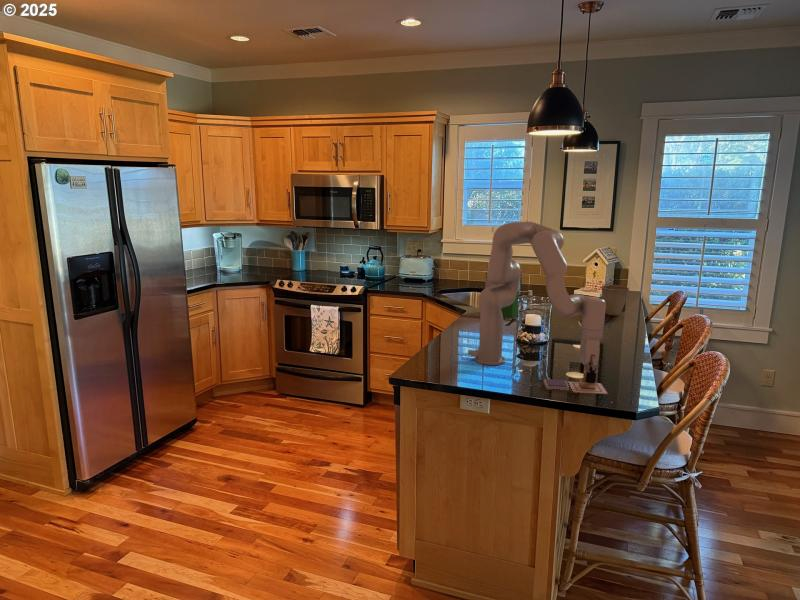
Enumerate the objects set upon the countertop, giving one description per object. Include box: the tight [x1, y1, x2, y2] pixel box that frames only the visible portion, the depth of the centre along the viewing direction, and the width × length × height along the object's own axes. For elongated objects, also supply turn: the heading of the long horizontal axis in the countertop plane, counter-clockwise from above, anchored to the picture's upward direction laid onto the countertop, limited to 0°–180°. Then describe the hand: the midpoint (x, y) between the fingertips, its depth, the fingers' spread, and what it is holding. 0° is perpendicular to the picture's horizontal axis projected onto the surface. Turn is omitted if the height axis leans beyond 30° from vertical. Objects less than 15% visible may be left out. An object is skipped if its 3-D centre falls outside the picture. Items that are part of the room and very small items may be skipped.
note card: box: [567, 381, 608, 395], centre depth 192 cm, size 12×10×1 cm
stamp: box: [578, 363, 597, 390], centre depth 191 cm, size 5×4×12 cm
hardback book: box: [484, 272, 521, 319], centre depth 300 cm, size 18×7×24 cm, turn 52°
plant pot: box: [601, 284, 630, 316], centre depth 306 cm, size 15×15×16 cm
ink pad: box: [543, 378, 570, 391], centre depth 193 cm, size 8×7×2 cm
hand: (587, 377), depth 192 cm, fingers open, 9 cm apart
